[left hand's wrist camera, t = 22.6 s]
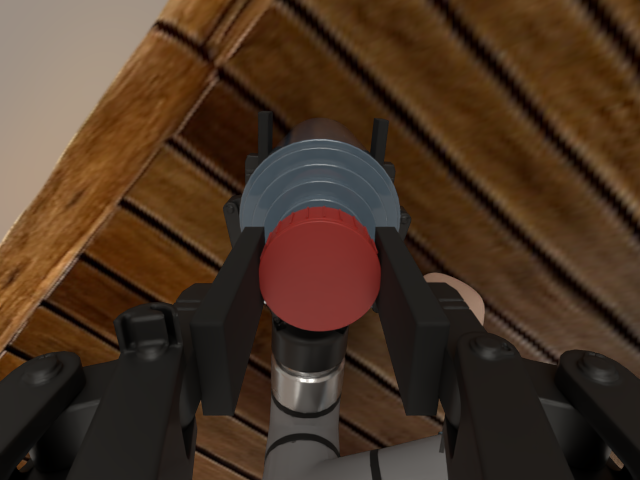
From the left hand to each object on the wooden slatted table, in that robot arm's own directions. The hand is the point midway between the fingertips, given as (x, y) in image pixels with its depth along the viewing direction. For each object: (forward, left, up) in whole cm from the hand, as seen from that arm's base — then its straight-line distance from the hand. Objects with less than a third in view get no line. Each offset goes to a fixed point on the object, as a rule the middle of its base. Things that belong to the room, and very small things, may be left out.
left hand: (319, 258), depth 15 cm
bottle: (0, 0, -24) cm, 24 cm away
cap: (0, 0, +1) cm, 1 cm away
